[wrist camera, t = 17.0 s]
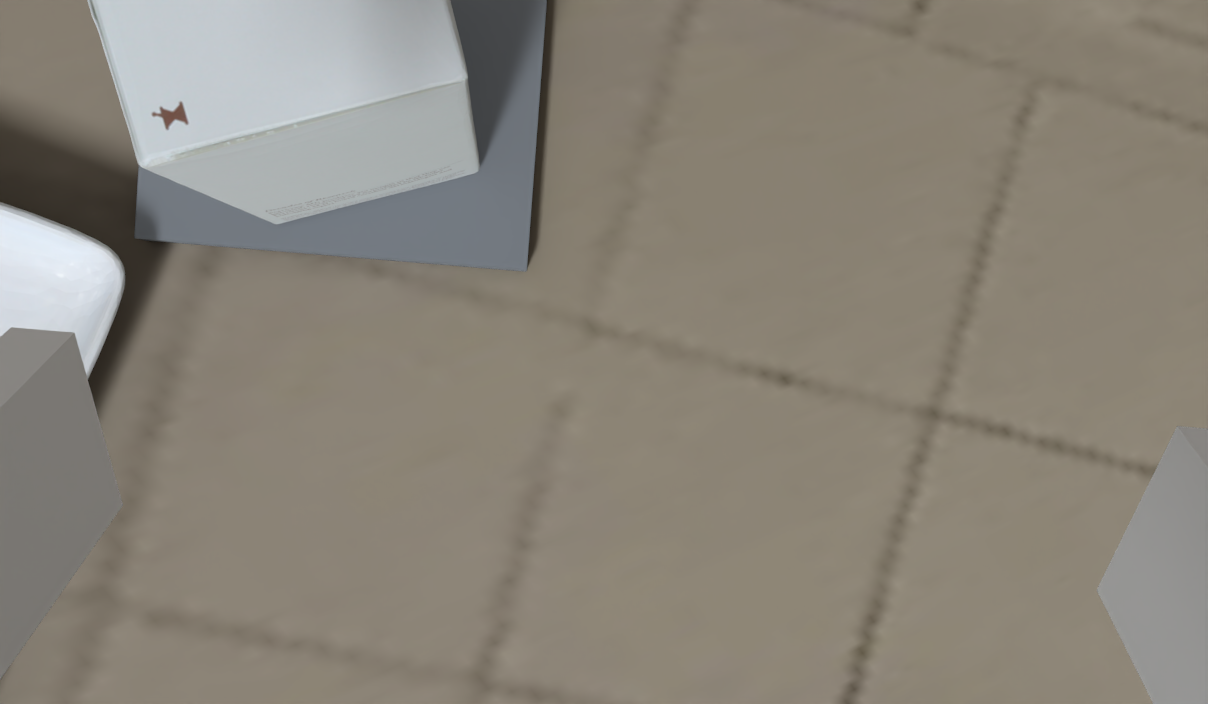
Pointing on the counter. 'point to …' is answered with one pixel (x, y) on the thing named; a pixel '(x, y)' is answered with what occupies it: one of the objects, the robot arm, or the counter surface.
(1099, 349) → the counter surface
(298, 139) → the supplement box
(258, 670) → the counter surface
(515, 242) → the rubber mat
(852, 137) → the counter surface
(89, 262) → the salad plate
